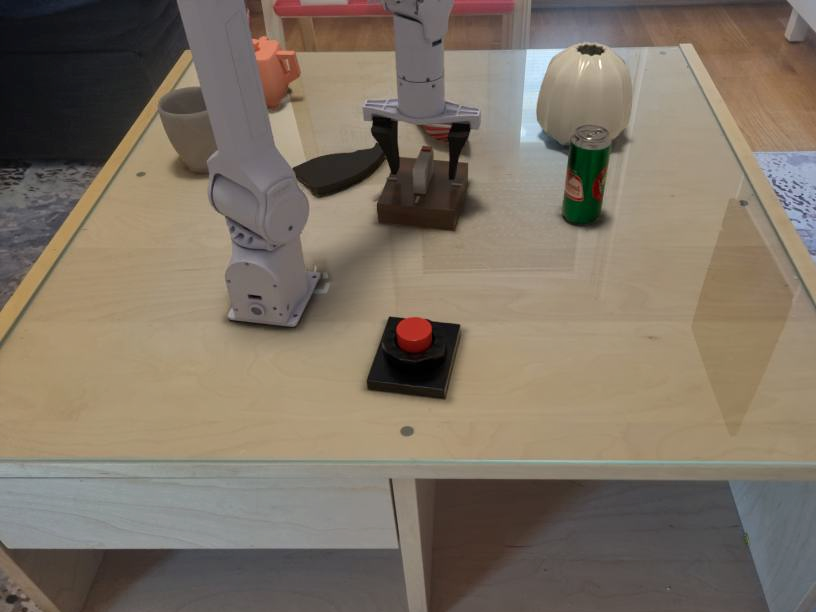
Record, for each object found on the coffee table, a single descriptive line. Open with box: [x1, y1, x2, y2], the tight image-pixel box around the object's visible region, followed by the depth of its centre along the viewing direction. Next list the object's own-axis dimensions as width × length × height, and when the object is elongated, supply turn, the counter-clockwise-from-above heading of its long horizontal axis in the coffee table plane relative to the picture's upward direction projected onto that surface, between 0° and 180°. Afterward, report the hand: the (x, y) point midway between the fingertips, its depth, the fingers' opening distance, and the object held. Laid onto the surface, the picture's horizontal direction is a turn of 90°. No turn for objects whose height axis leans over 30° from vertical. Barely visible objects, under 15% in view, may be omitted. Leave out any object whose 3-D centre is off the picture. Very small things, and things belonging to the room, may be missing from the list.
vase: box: [535, 41, 633, 147], centre depth 110 cm, size 14×14×13 cm
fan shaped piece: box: [291, 141, 385, 198], centre depth 106 cm, size 8×14×2 cm, turn 125°
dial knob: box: [413, 145, 435, 194], centre depth 98 cm, size 6×2×4 cm, turn 171°
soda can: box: [561, 124, 613, 226], centre depth 94 cm, size 5×5×12 cm
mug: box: [156, 85, 218, 174], centre depth 106 cm, size 12×9×10 cm
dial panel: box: [376, 156, 469, 231], centre depth 100 cm, size 12×10×3 cm
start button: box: [396, 316, 432, 353], centre depth 77 cm, size 4×4×2 cm
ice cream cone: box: [421, 97, 458, 143], centre depth 114 cm, size 6×6×20 cm
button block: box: [366, 316, 462, 399], centre depth 78 cm, size 10×8×3 cm
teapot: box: [252, 35, 302, 110], centre depth 120 cm, size 12×12×10 cm
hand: (424, 173), depth 98 cm, fingers open, 7 cm apart
